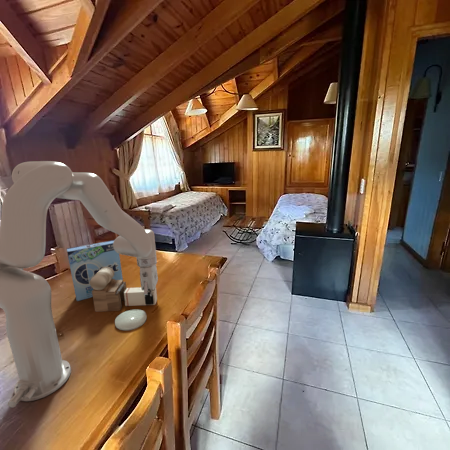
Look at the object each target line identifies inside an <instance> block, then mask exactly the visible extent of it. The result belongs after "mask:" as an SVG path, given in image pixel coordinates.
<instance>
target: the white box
mask: <svg viewBox="0 0 450 450" xmlns="http://www.w3.org/2000/svg"><path fill="white" fill-rule="evenodd" d="M126 288H127V289H126V290H125V292H124V298H125V300H124V305H125V307H132V306H135V307H136V306H137V307H138V306H147V305H146V304H145V295H144V290H142V289H141V286H140V287H126ZM148 288H149V287H148ZM148 292H150V290H149V291H148ZM157 293H158V291H157V286H156V287H155V289H154V290H152V295H153V301H154V304H151V305H150V306H155V305H156V304H157V301H158V294H157Z"/></svg>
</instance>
